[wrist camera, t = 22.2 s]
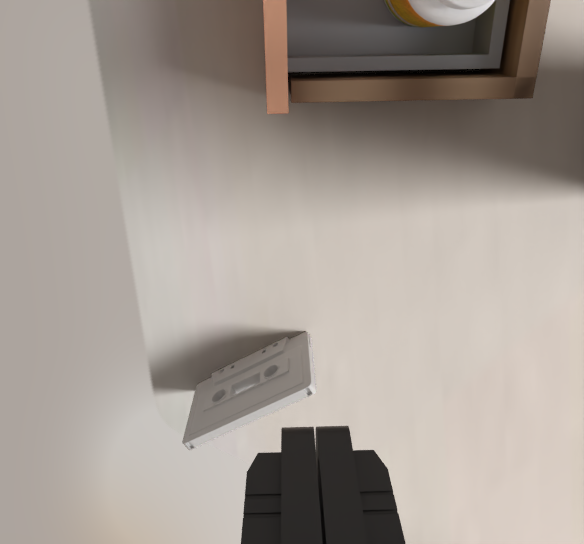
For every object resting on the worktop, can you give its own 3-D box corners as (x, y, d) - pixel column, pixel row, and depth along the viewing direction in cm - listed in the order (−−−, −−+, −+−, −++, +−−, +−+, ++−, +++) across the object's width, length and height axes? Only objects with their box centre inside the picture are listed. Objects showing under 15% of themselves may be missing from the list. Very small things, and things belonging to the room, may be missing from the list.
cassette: (305, 325, 44) (309, 380, 37) (315, 340, 45) (320, 397, 38) (193, 380, 46) (177, 441, 39) (204, 393, 47) (190, 455, 40)
